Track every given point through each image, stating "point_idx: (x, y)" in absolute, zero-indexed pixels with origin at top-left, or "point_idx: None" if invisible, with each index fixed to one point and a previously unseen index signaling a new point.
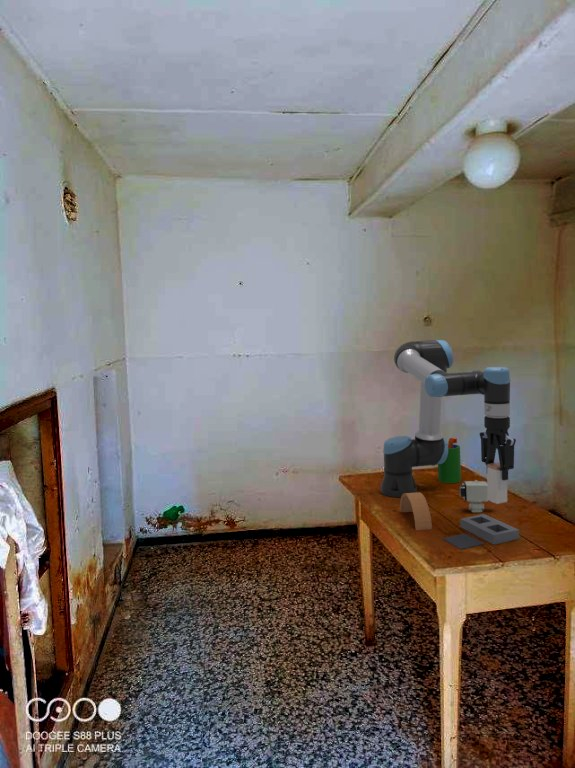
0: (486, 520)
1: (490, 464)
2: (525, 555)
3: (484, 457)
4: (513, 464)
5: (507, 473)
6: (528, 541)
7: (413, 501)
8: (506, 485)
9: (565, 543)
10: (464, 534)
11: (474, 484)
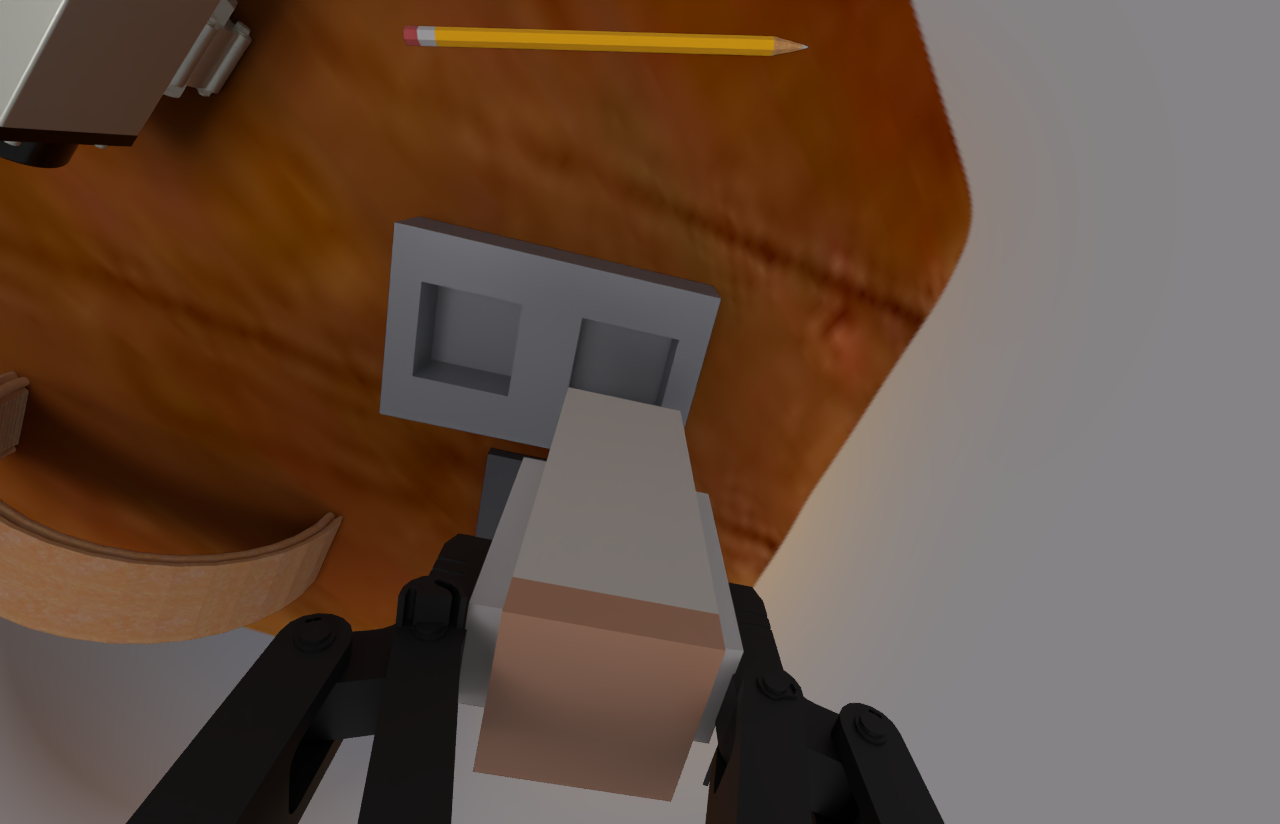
0: (477, 290)
1: (516, 757)
2: (831, 425)
3: (315, 785)
4: (918, 784)
5: (773, 659)
6: (757, 257)
7: (132, 629)
8: (710, 521)
9: (927, 109)
10: (497, 469)
11: (17, 38)
